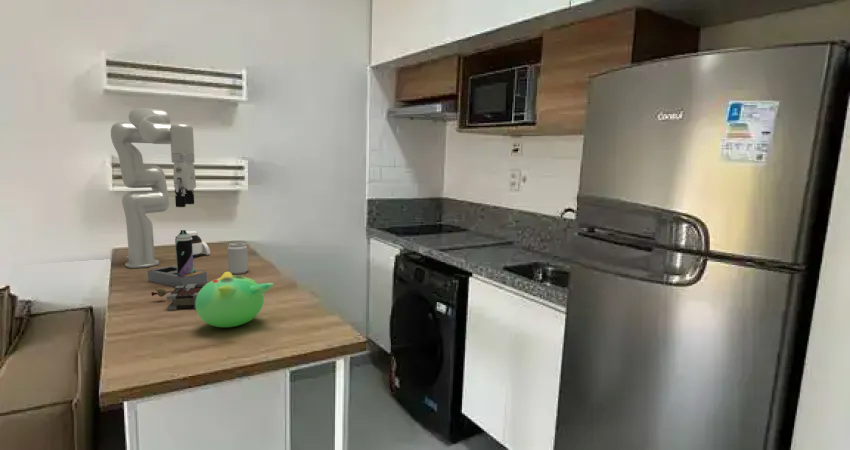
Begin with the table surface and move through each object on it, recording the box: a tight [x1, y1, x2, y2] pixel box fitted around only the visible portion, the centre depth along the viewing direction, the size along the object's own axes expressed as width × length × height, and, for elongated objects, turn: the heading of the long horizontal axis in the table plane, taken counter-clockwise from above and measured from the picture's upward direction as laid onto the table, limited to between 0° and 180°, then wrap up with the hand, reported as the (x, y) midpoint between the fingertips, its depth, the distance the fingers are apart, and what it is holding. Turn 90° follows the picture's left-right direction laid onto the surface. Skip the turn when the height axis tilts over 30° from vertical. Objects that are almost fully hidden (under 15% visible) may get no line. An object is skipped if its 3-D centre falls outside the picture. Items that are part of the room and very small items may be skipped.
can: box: [226, 242, 249, 275], centre depth 199 cm, size 8×8×12 cm
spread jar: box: [186, 230, 211, 259], centre depth 230 cm, size 12×11×12 cm
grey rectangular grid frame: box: [147, 265, 208, 288], centre depth 183 cm, size 20×10×4 cm, turn 61°
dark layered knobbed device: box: [151, 283, 207, 311], centre depth 158 cm, size 15×25×5 cm, turn 104°
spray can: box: [174, 229, 195, 276], centre depth 180 cm, size 6×6×20 cm
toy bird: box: [195, 271, 275, 328], centre depth 137 cm, size 18×17×15 cm
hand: (185, 205), depth 181 cm, fingers open, 9 cm apart
